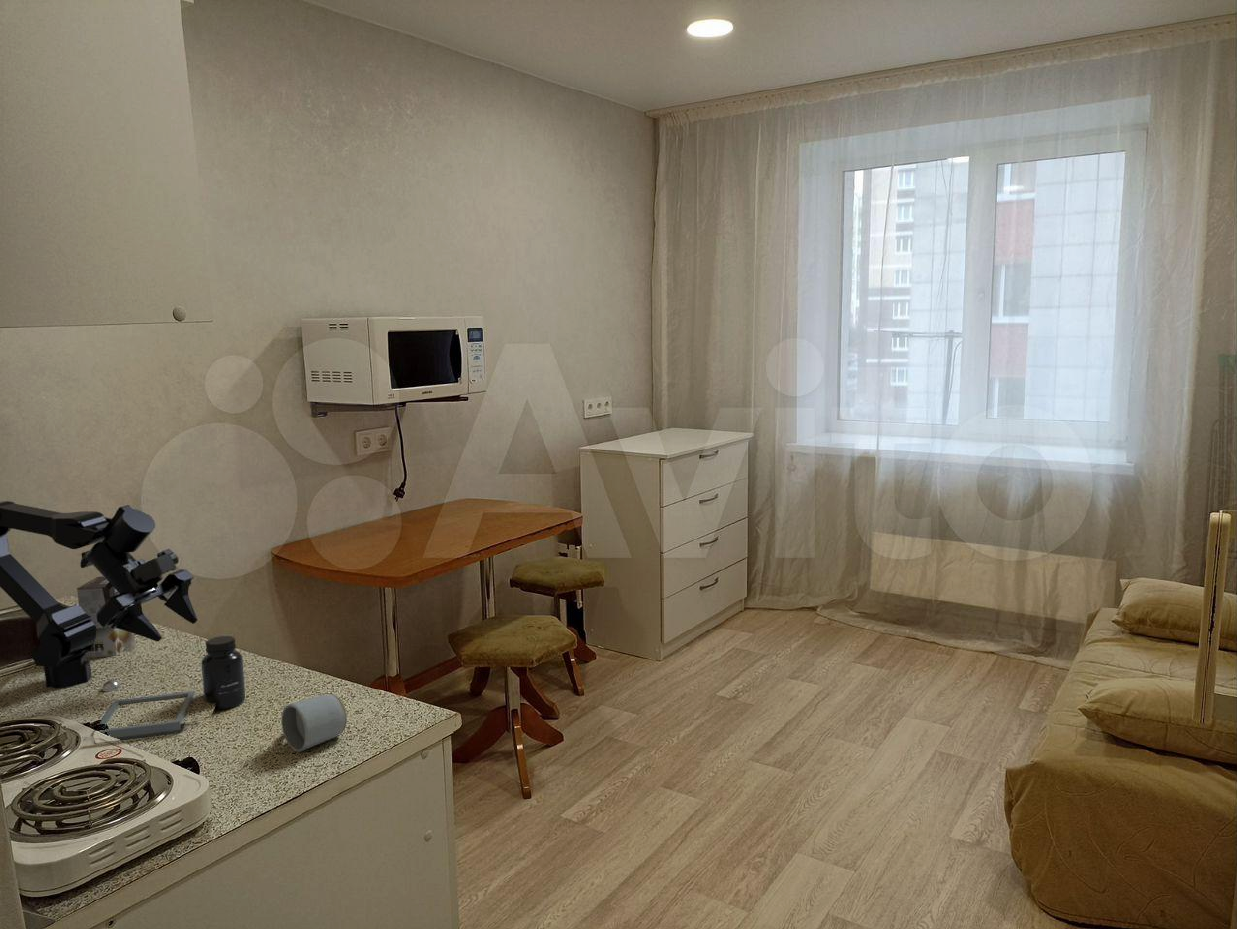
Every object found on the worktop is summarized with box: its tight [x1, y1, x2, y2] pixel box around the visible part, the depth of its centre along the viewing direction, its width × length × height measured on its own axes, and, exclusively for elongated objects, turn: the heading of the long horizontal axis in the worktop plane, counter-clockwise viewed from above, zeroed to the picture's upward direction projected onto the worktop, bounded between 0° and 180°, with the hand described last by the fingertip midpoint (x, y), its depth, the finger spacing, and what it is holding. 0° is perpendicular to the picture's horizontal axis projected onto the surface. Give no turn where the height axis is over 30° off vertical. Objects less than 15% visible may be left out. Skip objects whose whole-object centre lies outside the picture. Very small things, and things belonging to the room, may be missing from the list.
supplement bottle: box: [200, 635, 246, 711], centre depth 159 cm, size 7×7×12 cm
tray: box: [99, 690, 196, 741], centre depth 153 cm, size 13×13×2 cm
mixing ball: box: [102, 679, 122, 693], centre depth 164 cm, size 3×3×3 cm
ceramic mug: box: [280, 693, 348, 753], centre depth 145 cm, size 11×8×8 cm
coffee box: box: [76, 576, 136, 659], centre depth 183 cm, size 9×6×16 cm
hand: (178, 630), depth 160 cm, fingers open, 9 cm apart
